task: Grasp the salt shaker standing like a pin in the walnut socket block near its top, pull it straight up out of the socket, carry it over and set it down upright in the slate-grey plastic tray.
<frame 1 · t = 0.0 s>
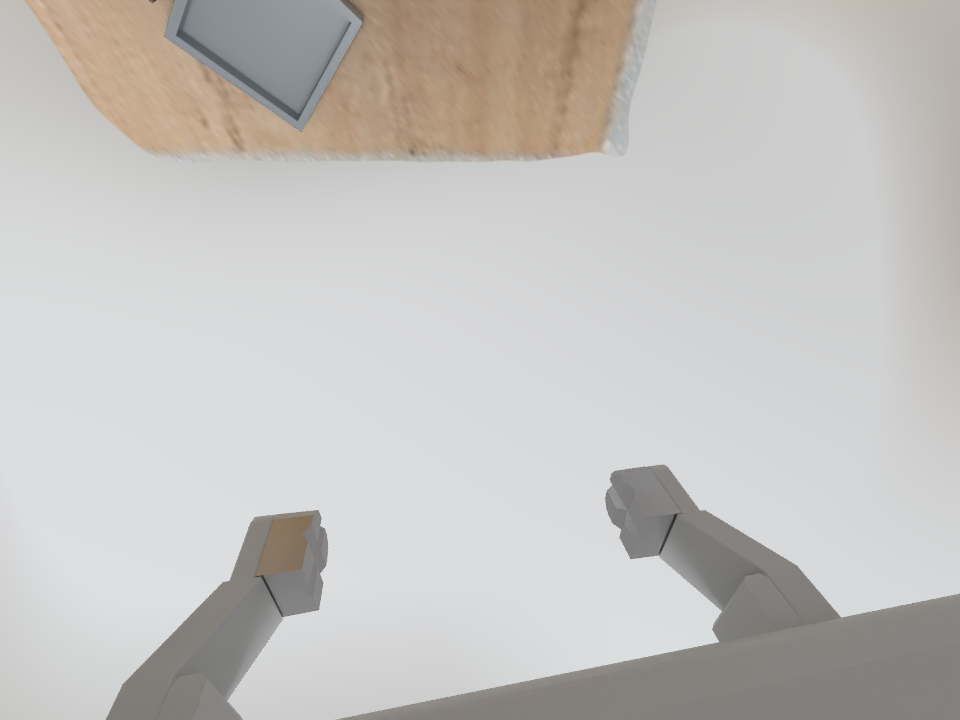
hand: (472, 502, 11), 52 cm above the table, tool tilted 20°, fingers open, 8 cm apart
tray: (269, 22, 42), on the table
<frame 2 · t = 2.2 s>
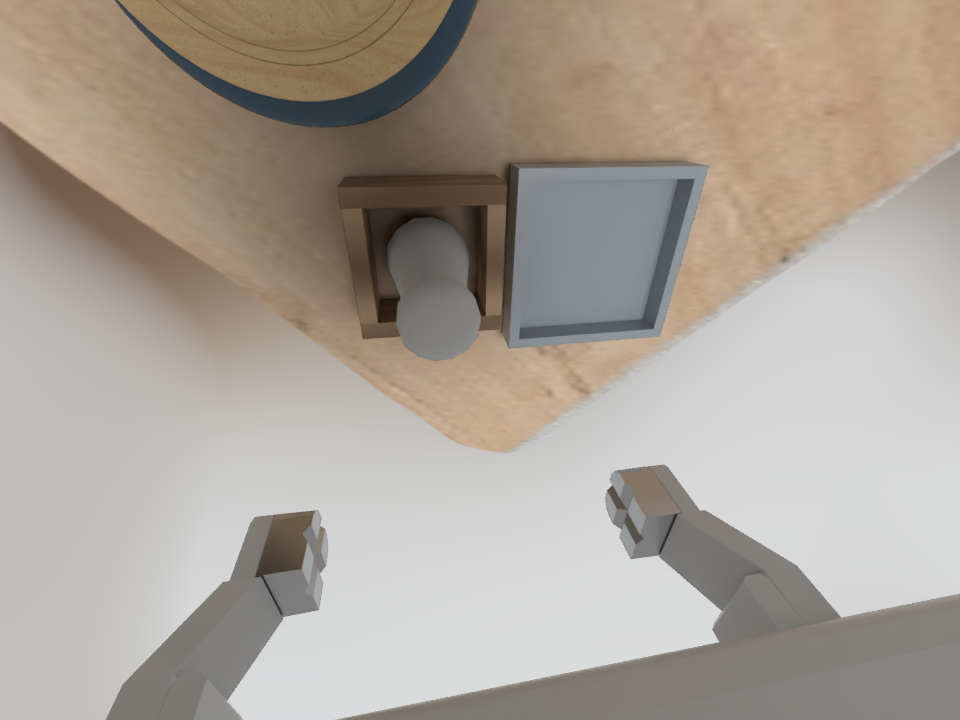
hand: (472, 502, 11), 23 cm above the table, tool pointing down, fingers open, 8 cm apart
tray: (587, 254, 33), on the table
socket block: (426, 249, 30), on the table
salt shaker: (426, 248, 31), resting in socket block
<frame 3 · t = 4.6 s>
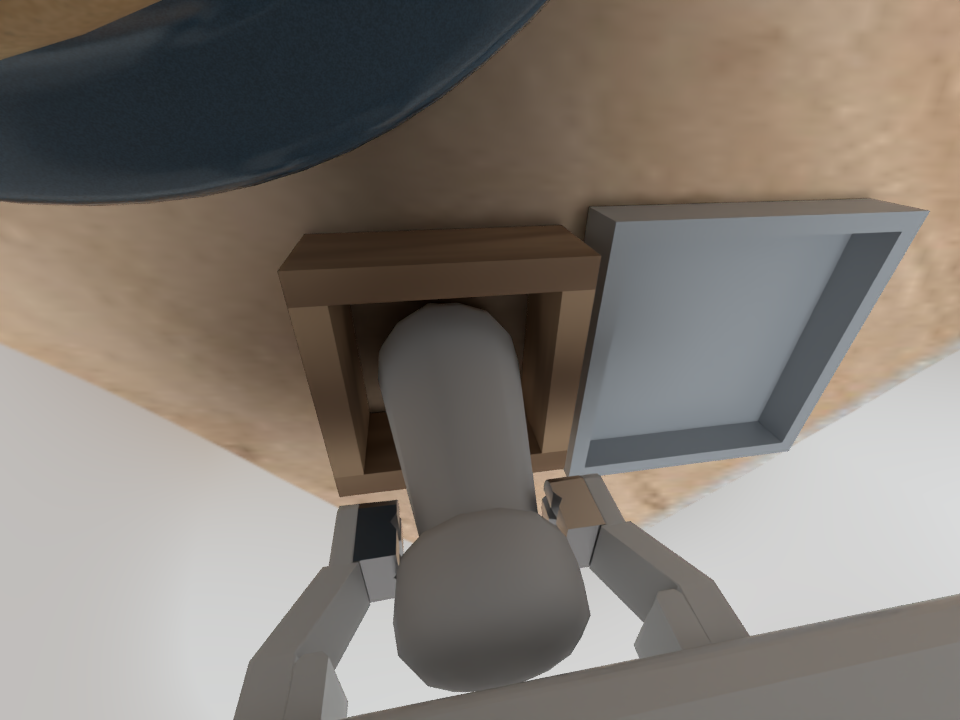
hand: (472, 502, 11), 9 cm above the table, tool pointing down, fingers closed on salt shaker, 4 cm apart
tray: (691, 338, 21), on the table
socket block: (443, 340, 19), on the table
salt shaker: (443, 338, 19), resting in socket block, touching gripper
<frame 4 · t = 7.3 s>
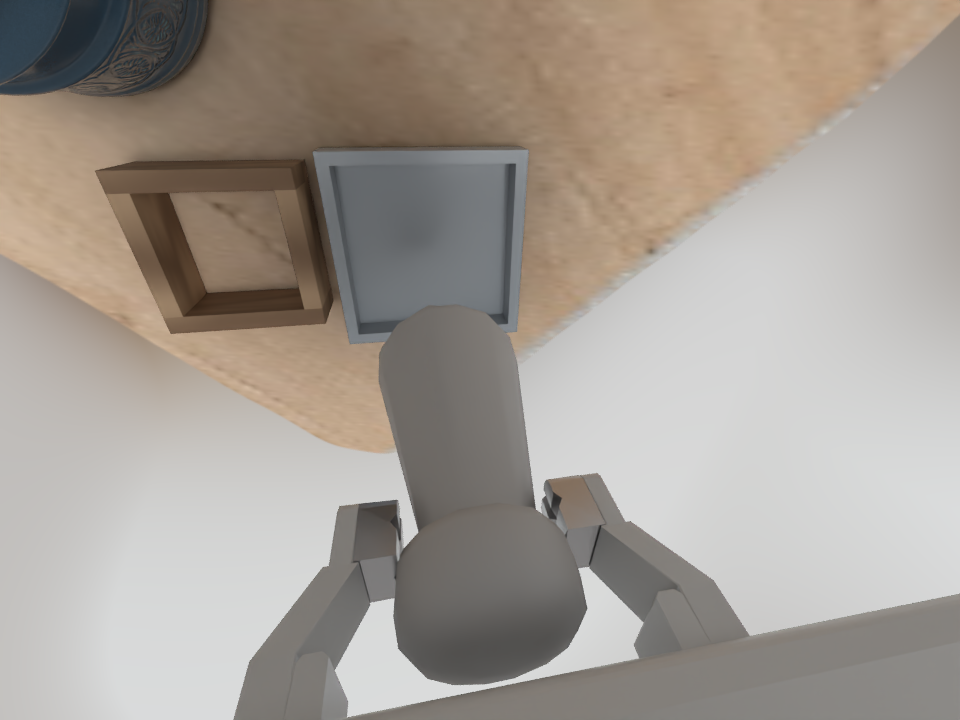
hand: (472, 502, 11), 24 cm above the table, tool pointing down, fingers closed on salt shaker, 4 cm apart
tray: (428, 245, 31), on the table
socket block: (246, 239, 29), on the table
salt shaker: (443, 340, 19), point 15 cm above the table, touching gripper
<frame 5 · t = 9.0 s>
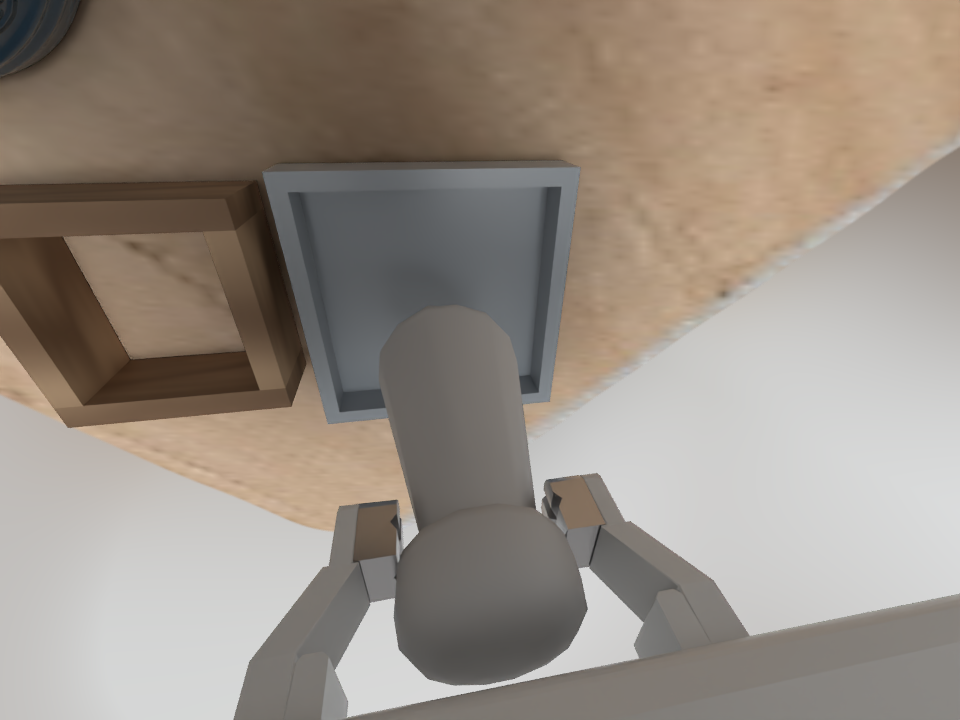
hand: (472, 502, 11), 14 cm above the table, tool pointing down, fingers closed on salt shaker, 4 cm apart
tray: (434, 293, 23), on the table
socket block: (179, 290, 21), on the table
salt shaker: (443, 340, 19), point 5 cm above the table, touching gripper
when the fingers open (11 cm above the table, at t = 10.1 s): salt shaker drops 1 cm, resting on tray.
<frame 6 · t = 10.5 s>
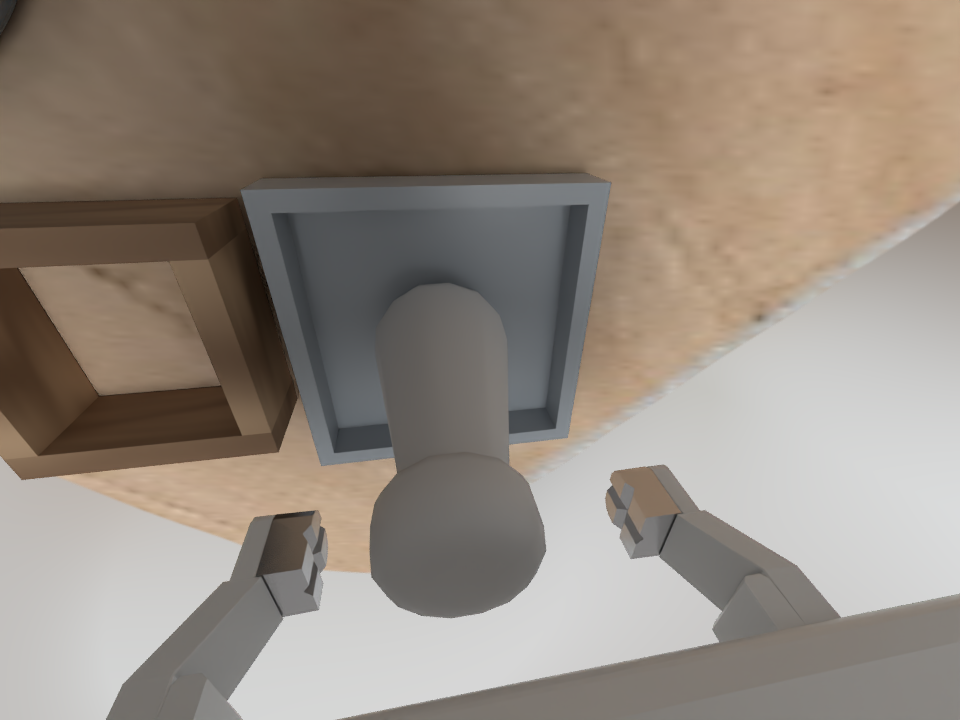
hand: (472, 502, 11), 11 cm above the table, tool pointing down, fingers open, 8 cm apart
tray: (440, 320, 21), on the table
socket block: (151, 320, 18), on the table
salt shaker: (439, 320, 20), resting on tray
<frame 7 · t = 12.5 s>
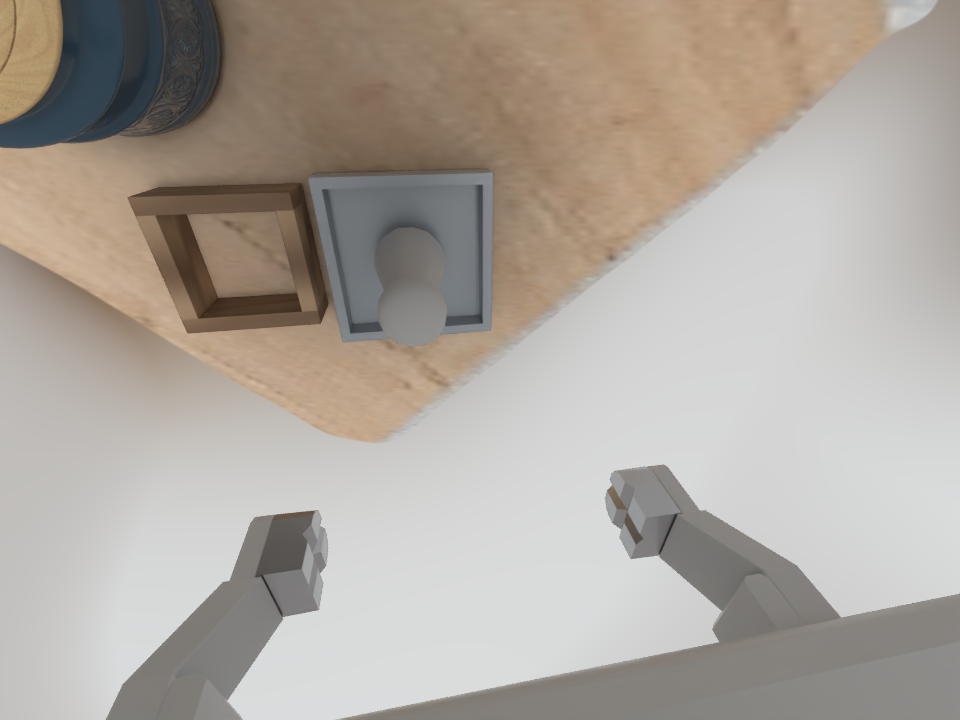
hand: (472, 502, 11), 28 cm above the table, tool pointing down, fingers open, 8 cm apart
tray: (411, 255, 36), on the table
canister: (111, 15, 25), on the table
socket block: (251, 251, 33), on the table
salt shaker: (410, 253, 35), resting on tray
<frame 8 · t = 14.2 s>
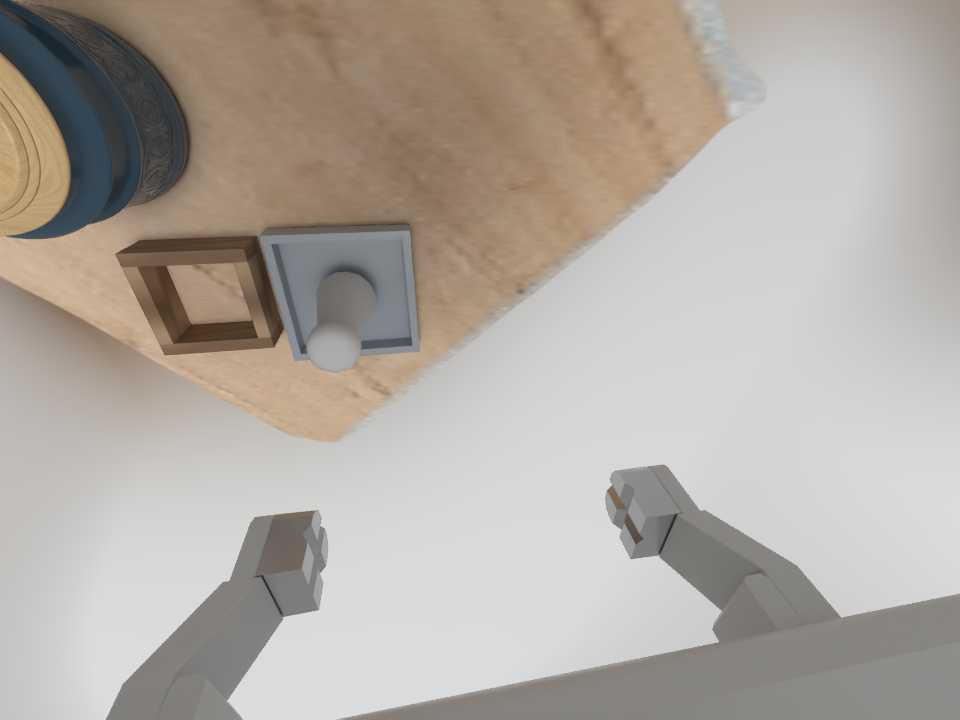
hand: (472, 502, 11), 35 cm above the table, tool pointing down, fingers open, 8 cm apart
tray: (351, 290, 43), on the table
canister: (102, 116, 33), on the table
socket block: (218, 288, 41), on the table
salt shaker: (349, 289, 43), resting on tray
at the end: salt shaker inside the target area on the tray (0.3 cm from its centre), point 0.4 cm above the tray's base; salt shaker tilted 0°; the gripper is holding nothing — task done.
